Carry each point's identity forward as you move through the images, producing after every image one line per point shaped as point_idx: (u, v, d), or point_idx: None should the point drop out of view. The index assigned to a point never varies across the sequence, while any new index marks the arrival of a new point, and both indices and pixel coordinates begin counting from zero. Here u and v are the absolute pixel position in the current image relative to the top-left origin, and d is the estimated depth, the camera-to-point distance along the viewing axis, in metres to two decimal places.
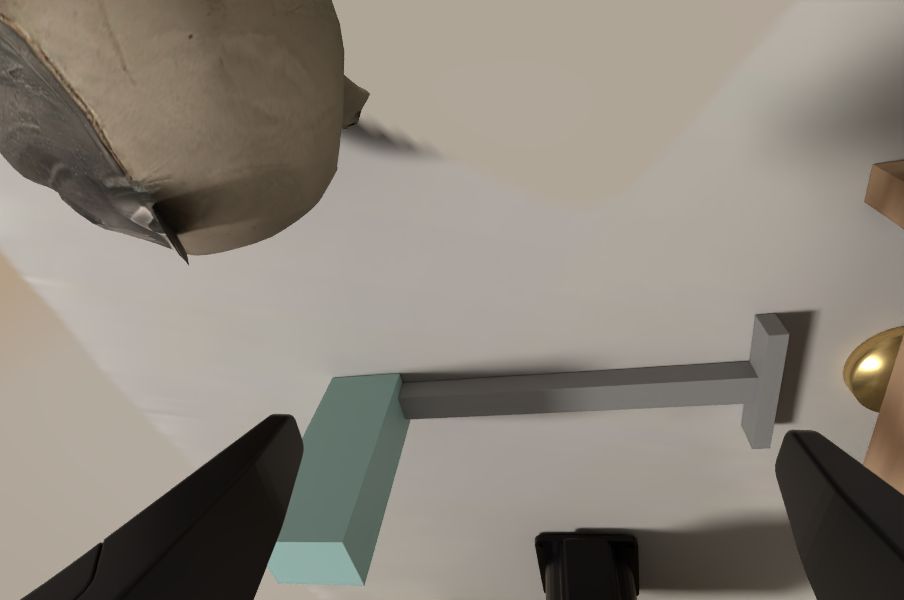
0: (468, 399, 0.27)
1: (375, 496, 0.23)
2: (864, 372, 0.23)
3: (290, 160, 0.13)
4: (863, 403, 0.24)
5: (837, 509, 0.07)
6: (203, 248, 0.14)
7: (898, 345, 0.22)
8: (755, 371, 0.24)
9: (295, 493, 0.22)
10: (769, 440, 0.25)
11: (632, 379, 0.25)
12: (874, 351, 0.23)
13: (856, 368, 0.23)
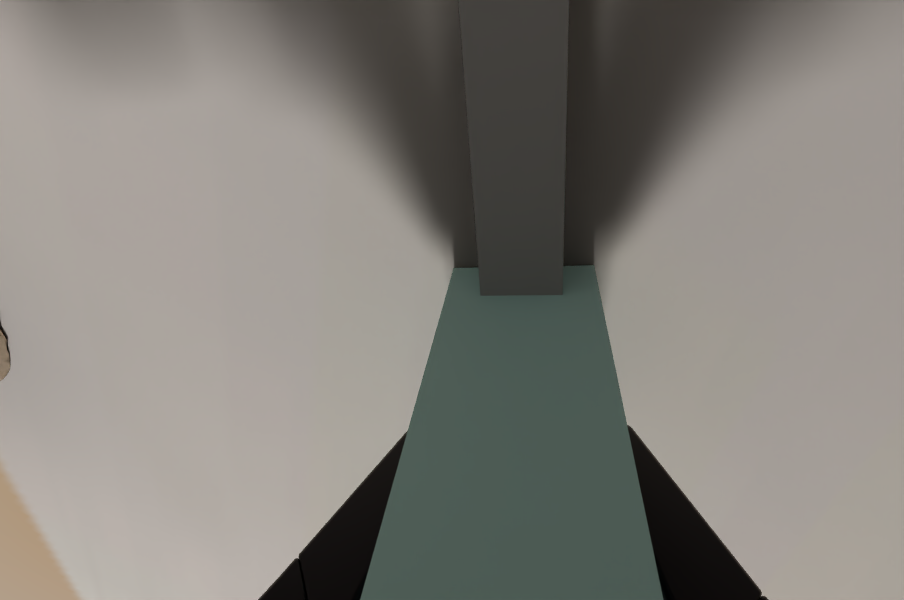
0: (487, 92, 0.08)
1: (517, 567, 0.05)
2: None
3: None
4: None
5: None
6: None
7: None
8: None
9: None
10: None
11: None
12: None
13: None
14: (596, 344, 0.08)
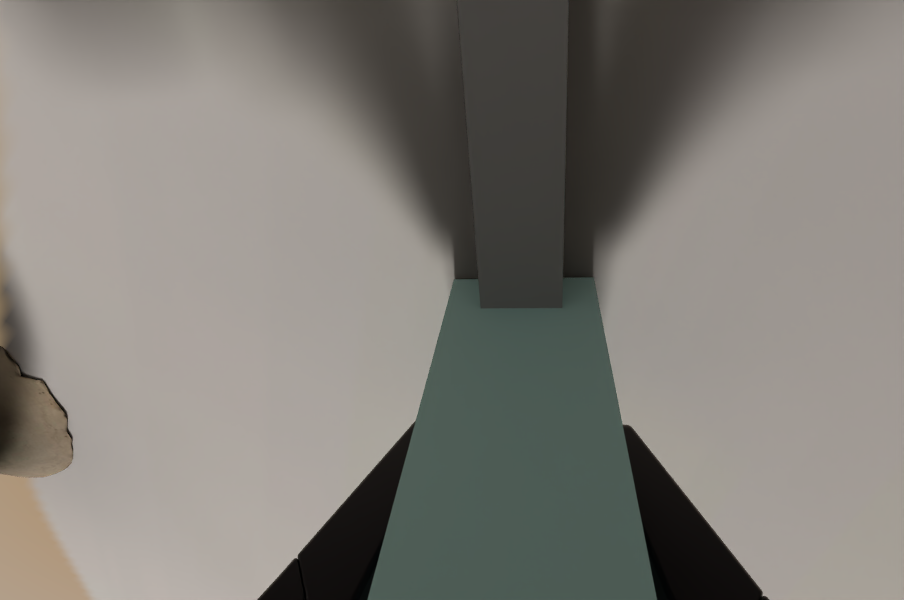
0: (486, 109, 0.08)
1: (516, 589, 0.05)
2: None
3: None
4: None
5: None
6: None
7: None
8: None
9: None
10: None
11: None
12: None
13: None
14: (595, 359, 0.09)
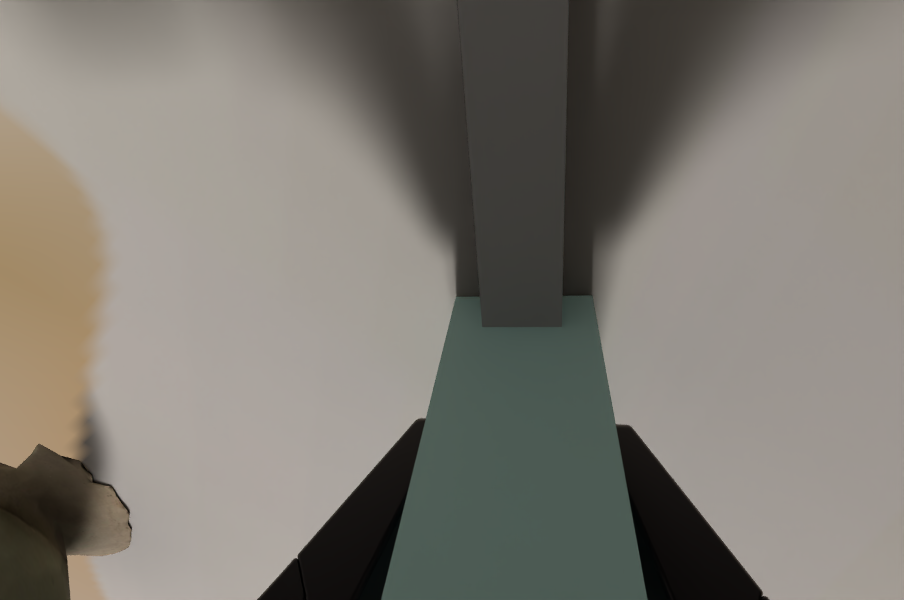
0: (488, 138, 0.08)
1: None
2: None
3: None
4: None
5: None
6: None
7: None
8: None
9: None
10: None
11: None
12: None
13: None
14: (594, 380, 0.09)
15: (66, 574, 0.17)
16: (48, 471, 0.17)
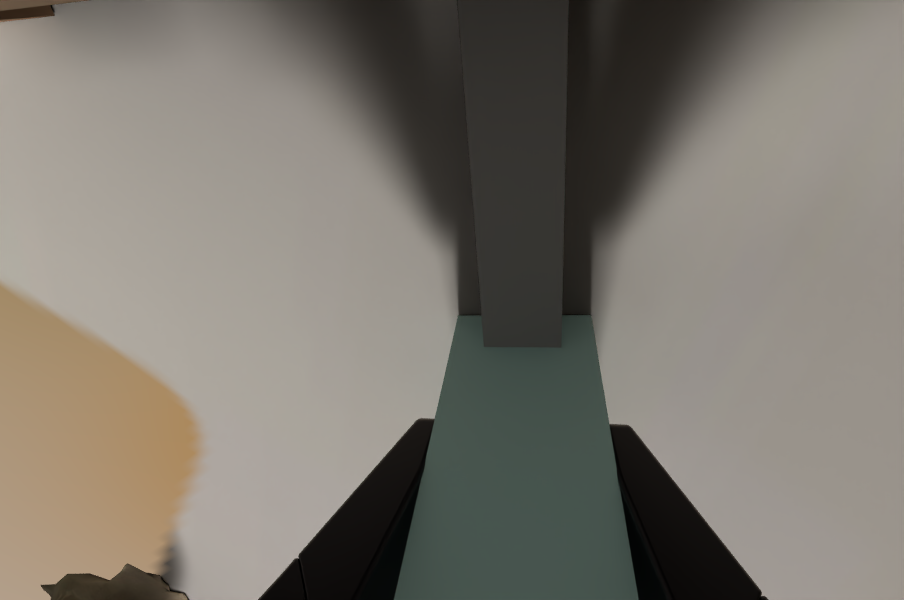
0: (490, 169, 0.09)
1: None
2: None
3: None
4: None
5: None
6: None
7: None
8: None
9: None
10: None
11: None
12: None
13: None
14: (592, 402, 0.09)
15: None
16: (134, 583, 0.21)
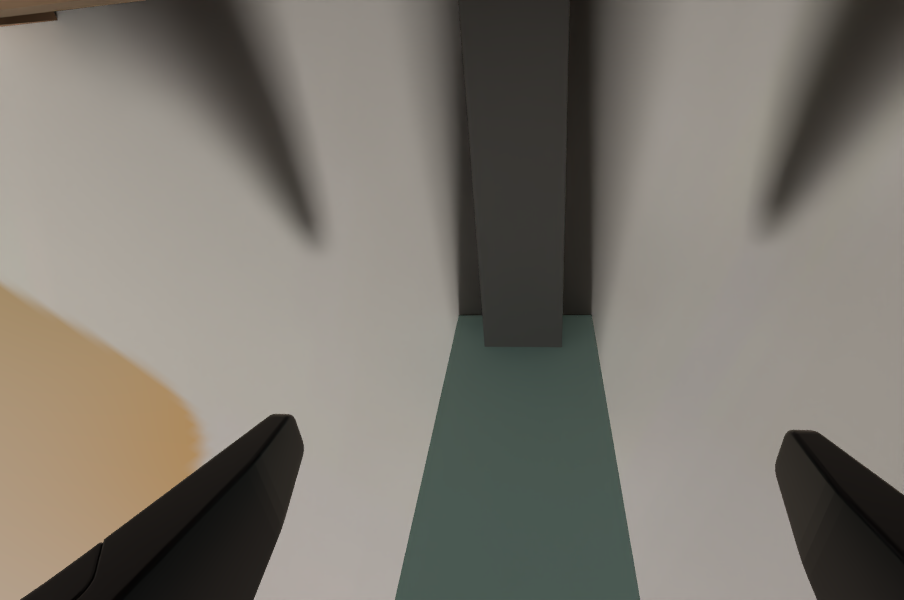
0: (491, 169, 0.09)
1: None
2: None
3: None
4: None
5: (837, 509, 0.07)
6: None
7: None
8: None
9: None
10: None
11: None
12: None
13: None
14: (593, 401, 0.09)
15: None
16: None
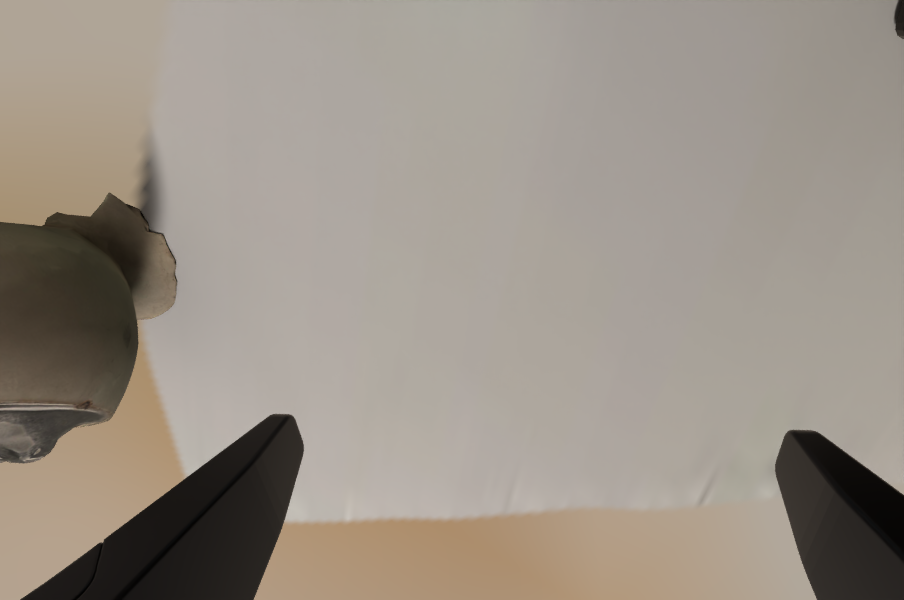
0: None
1: None
2: None
3: None
4: None
5: (837, 509, 0.07)
6: None
7: None
8: None
9: None
10: None
11: None
12: None
13: None
14: None
15: (130, 294, 0.22)
16: (115, 217, 0.22)
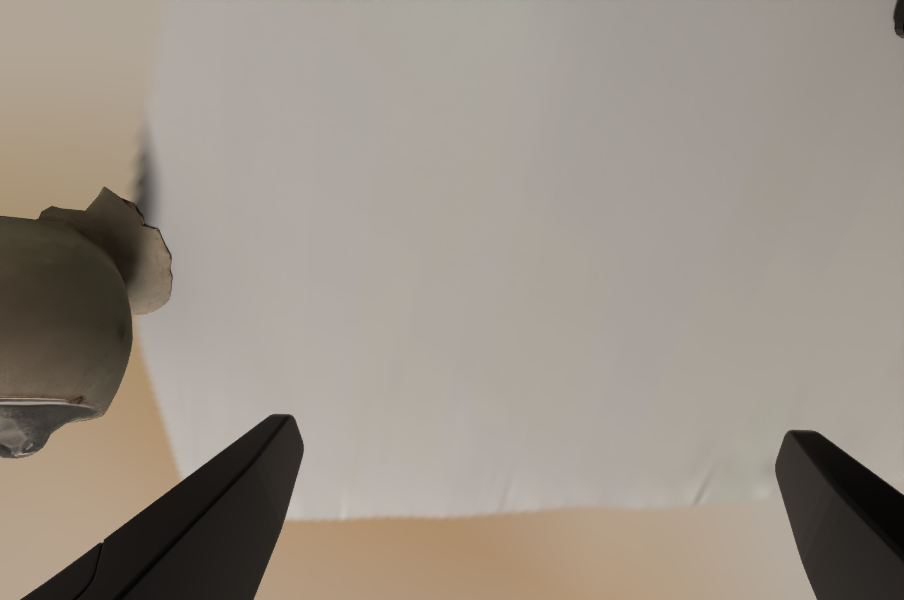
0: None
1: None
2: None
3: None
4: None
5: (837, 509, 0.07)
6: None
7: None
8: None
9: None
10: None
11: None
12: None
13: None
14: None
15: (125, 289, 0.22)
16: (110, 212, 0.22)
